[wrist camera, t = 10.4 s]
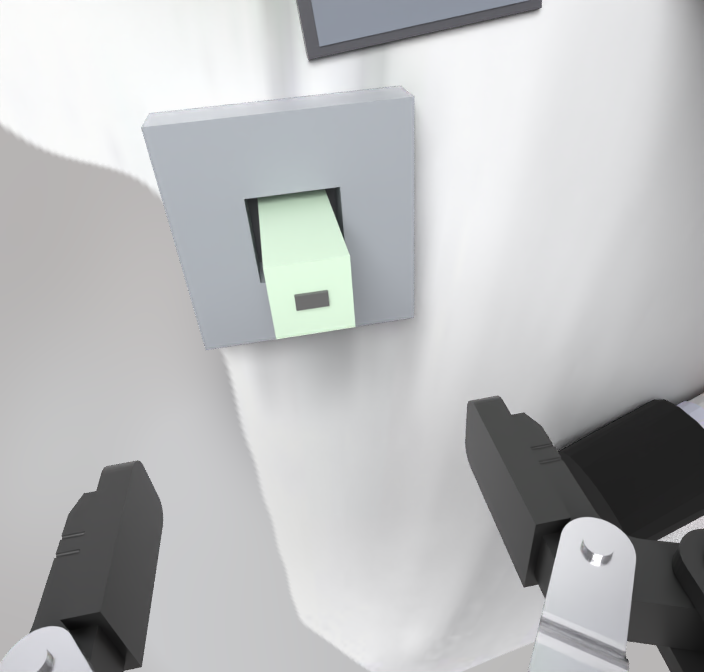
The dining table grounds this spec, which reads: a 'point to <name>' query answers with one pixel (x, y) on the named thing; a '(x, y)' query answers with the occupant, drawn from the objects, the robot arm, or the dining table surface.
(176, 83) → the dining table surface
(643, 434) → the bottle
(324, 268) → the block
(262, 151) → the plate
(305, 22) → the panel
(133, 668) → the robot arm
